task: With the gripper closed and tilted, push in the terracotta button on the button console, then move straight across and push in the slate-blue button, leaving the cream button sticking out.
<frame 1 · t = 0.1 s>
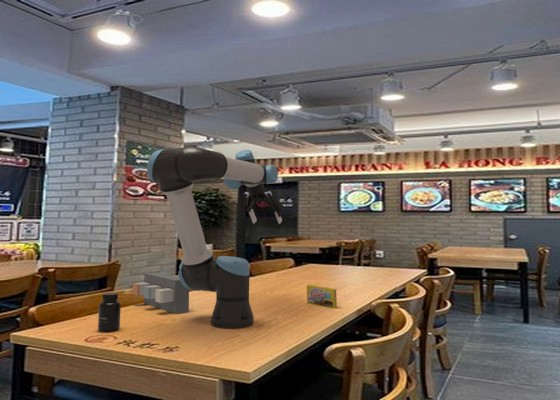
hand: (267, 222, 211), 36 cm above the table, tool tilted 35°, fingers open, 13 cm apart
console: (165, 307, 189), on the table
candy box: (321, 306, 196), on the table
supplement bottle: (109, 330, 150), on the table
slate button: (155, 291, 187), point 7 cm above the table, slide at 0.0 cm
cream button: (167, 295, 178), point 7 cm above the table, slide at 0.0 cm
terracotta button: (144, 288, 195), point 7 cm above the table, slide at 0.0 cm
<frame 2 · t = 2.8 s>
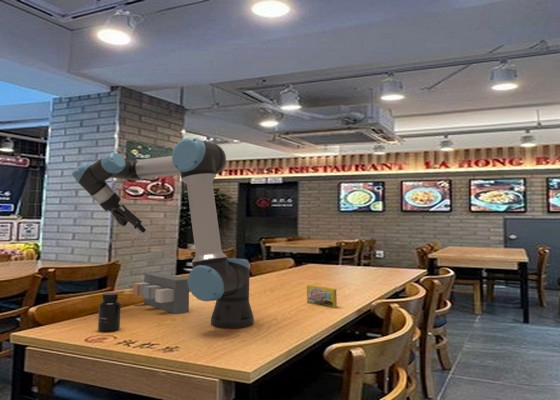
hand: (142, 236, 185), 30 cm above the table, tool tilted 45°, fingers open, 13 cm apart
nothing on the table moved.
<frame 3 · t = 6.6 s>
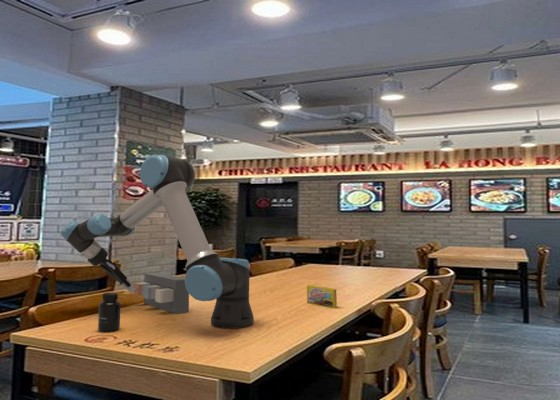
hand: (133, 290, 192), 6 cm above the table, tool tilted 45°, fingers closed
terracotta button: (145, 288, 196), point 7 cm above the table, slide at 0.7 cm, touching gripper
everything else where it was.
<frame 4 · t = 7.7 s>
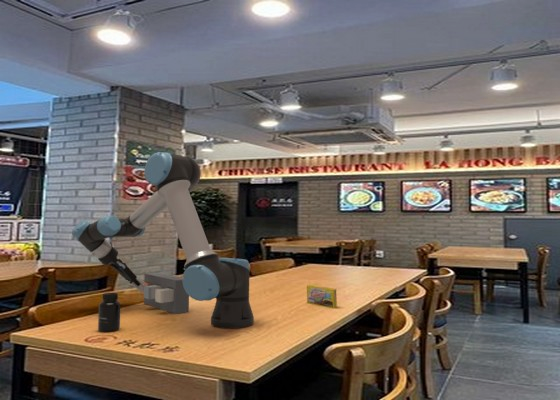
hand: (143, 289, 195), 6 cm above the table, tool tilted 45°, fingers closed
terracotta button: (154, 287, 198), point 7 cm above the table, slide at 4.8 cm, touching gripper
everything else where it was.
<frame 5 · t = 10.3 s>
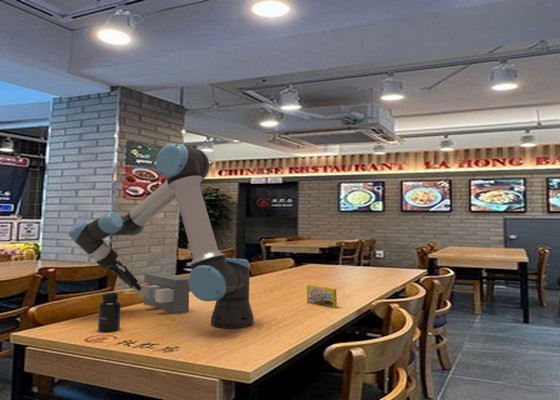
hand: (144, 294, 184), 6 cm above the table, tool tilted 45°, fingers closed
slate button: (156, 291, 187), point 7 cm above the table, slide at 0.6 cm, touching gripper
terracotta button: (154, 287, 198), point 7 cm above the table, slide at 4.8 cm
everything else where it was.
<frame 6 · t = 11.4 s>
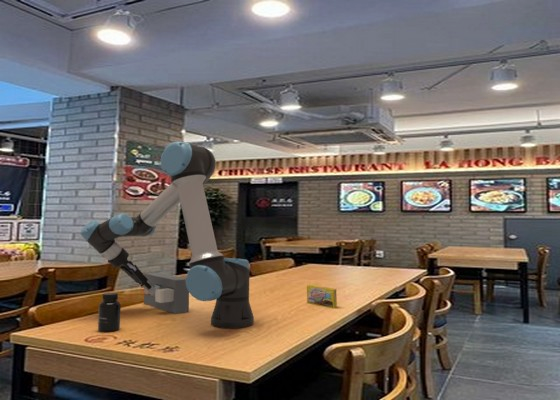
hand: (154, 293, 186), 7 cm above the table, tool tilted 45°, fingers closed
slate button: (166, 290, 190), point 7 cm above the table, slide at 4.8 cm, touching gripper
everything else where it was.
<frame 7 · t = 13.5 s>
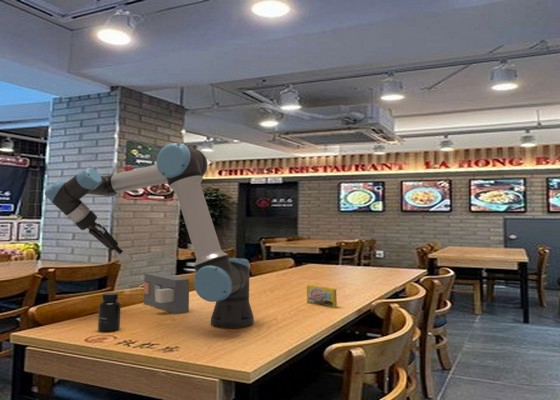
hand: (125, 258, 180), 21 cm above the table, tool tilted 45°, fingers closed
slate button: (166, 290, 190), point 7 cm above the table, slide at 4.8 cm
everything else where it was.
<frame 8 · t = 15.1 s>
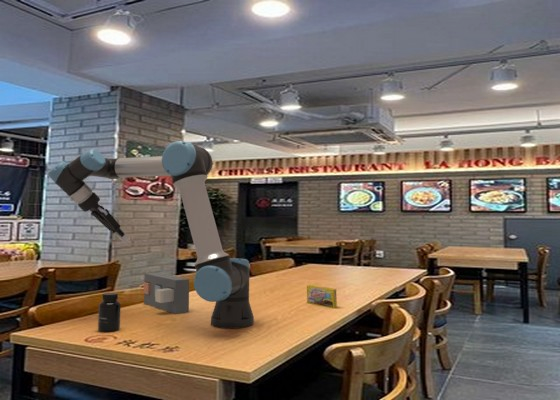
hand: (127, 241, 180), 28 cm above the table, tool tilted 45°, fingers closed
nothing on the table moved.
at the end: terracotta button slide at 4.8 cm; slate button slide at 4.8 cm; cream button slide at 0.0 cm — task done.
